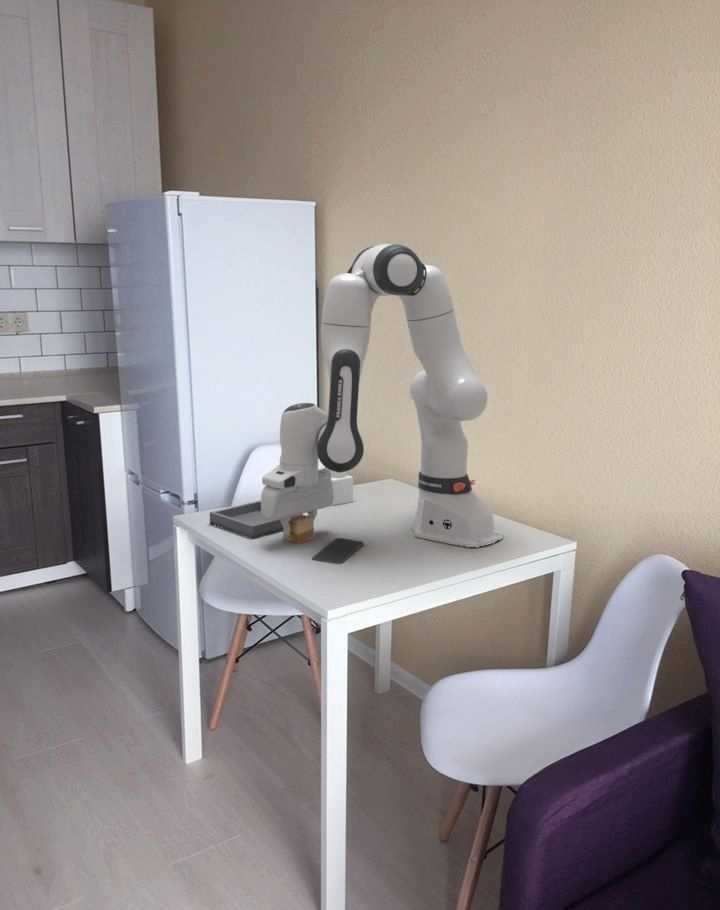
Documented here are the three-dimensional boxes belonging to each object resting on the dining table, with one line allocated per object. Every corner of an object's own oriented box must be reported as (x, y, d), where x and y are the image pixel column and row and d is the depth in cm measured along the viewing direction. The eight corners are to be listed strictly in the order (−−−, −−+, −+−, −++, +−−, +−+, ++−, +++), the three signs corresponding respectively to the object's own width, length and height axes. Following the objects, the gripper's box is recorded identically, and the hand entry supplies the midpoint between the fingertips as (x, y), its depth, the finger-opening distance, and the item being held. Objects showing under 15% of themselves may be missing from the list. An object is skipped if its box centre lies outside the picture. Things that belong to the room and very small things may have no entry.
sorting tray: (302, 525, 199) (302, 513, 198) (252, 539, 187) (252, 526, 187) (259, 511, 210) (259, 500, 209) (209, 524, 198) (209, 512, 197)
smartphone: (309, 558, 174) (336, 537, 188) (309, 562, 175) (336, 541, 188) (341, 563, 172) (365, 541, 186) (341, 567, 172) (365, 545, 186)
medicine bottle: (337, 496, 227) (338, 454, 224) (353, 501, 221) (354, 459, 219) (316, 500, 222) (317, 457, 220) (332, 505, 217) (333, 462, 214)
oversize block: (313, 538, 189) (313, 518, 188) (298, 543, 185) (298, 522, 184) (298, 533, 192) (298, 513, 191) (283, 538, 188) (283, 517, 187)
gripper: (321, 464, 195) (320, 519, 198) (256, 478, 180) (256, 537, 183) (340, 469, 191) (339, 525, 194) (275, 483, 176) (275, 543, 179)
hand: (298, 531), depth 188 cm, fingers closed on oversize block, 5 cm apart
